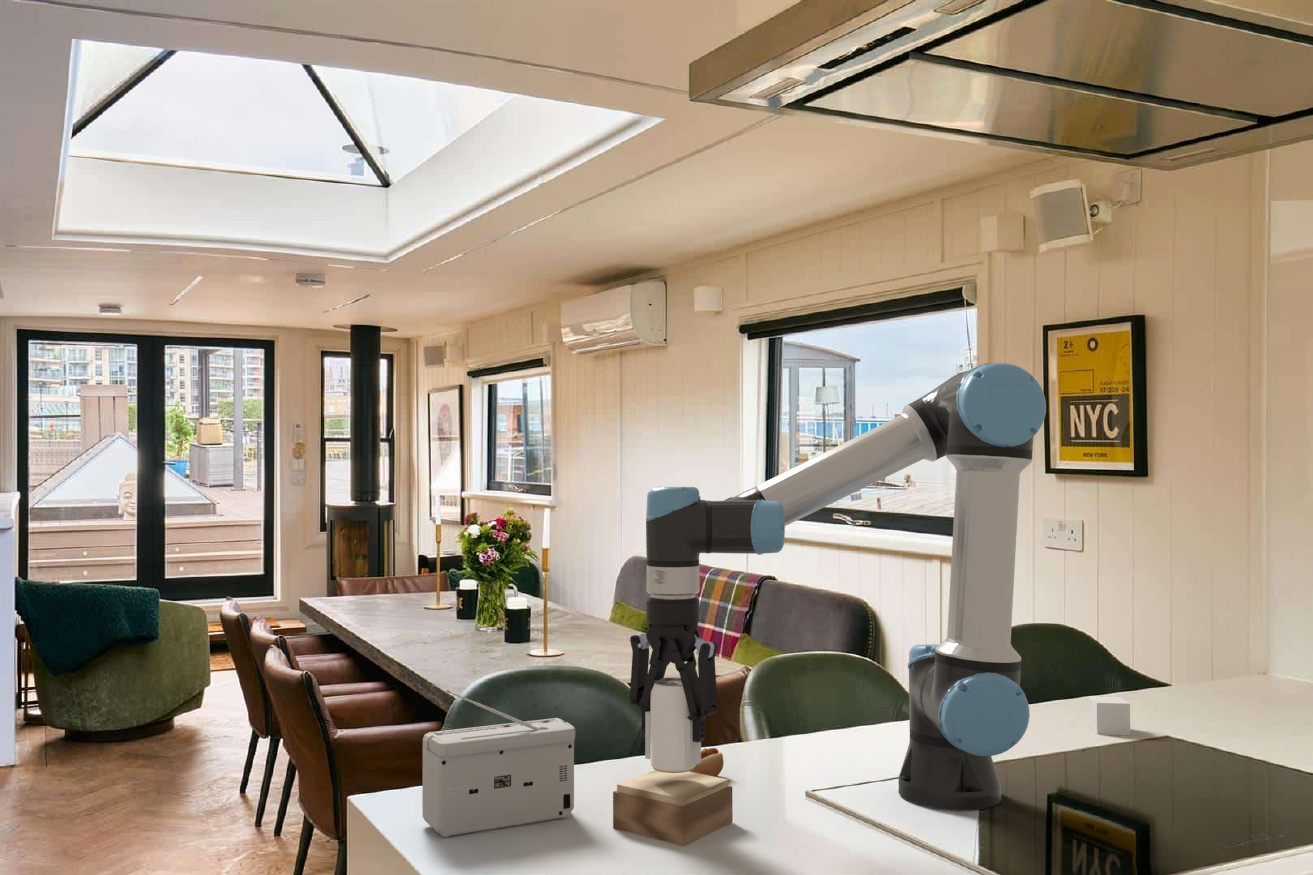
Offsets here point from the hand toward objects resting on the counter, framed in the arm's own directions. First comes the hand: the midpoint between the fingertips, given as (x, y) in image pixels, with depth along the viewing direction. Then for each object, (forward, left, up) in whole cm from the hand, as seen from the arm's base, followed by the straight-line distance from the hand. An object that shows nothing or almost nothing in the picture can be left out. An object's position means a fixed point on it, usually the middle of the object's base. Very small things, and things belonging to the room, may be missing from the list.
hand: (672, 760), depth 149 cm
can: (0, 0, -1) cm, 1 cm away
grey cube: (-35, -94, -9) cm, 101 cm away
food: (+9, -18, -9) cm, 22 cm away
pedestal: (0, 0, -9) cm, 9 cm away
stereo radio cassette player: (+20, +13, -9) cm, 26 cm away
